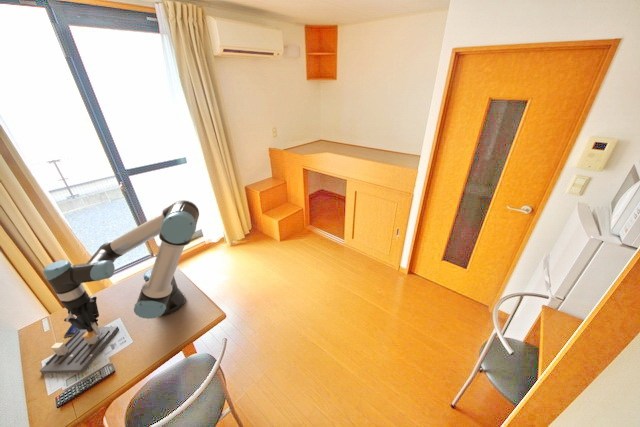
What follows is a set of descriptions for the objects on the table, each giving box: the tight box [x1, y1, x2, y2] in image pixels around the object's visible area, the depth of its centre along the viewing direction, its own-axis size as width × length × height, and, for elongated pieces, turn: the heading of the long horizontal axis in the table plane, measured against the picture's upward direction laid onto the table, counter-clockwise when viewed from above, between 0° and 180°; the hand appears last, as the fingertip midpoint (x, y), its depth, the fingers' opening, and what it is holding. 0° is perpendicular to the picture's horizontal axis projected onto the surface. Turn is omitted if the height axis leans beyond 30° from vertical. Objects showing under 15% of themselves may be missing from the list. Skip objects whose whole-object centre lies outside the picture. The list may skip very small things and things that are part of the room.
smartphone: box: [63, 316, 80, 338], centre depth 117 cm, size 7×1×15 cm
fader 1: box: [50, 342, 69, 356], centre depth 100 cm, size 3×2×5 cm
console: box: [39, 326, 119, 375], centre depth 104 cm, size 16×20×3 cm
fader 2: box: [83, 332, 98, 344], centre depth 104 cm, size 3×2×5 cm
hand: (96, 333), depth 107 cm, fingers closed
